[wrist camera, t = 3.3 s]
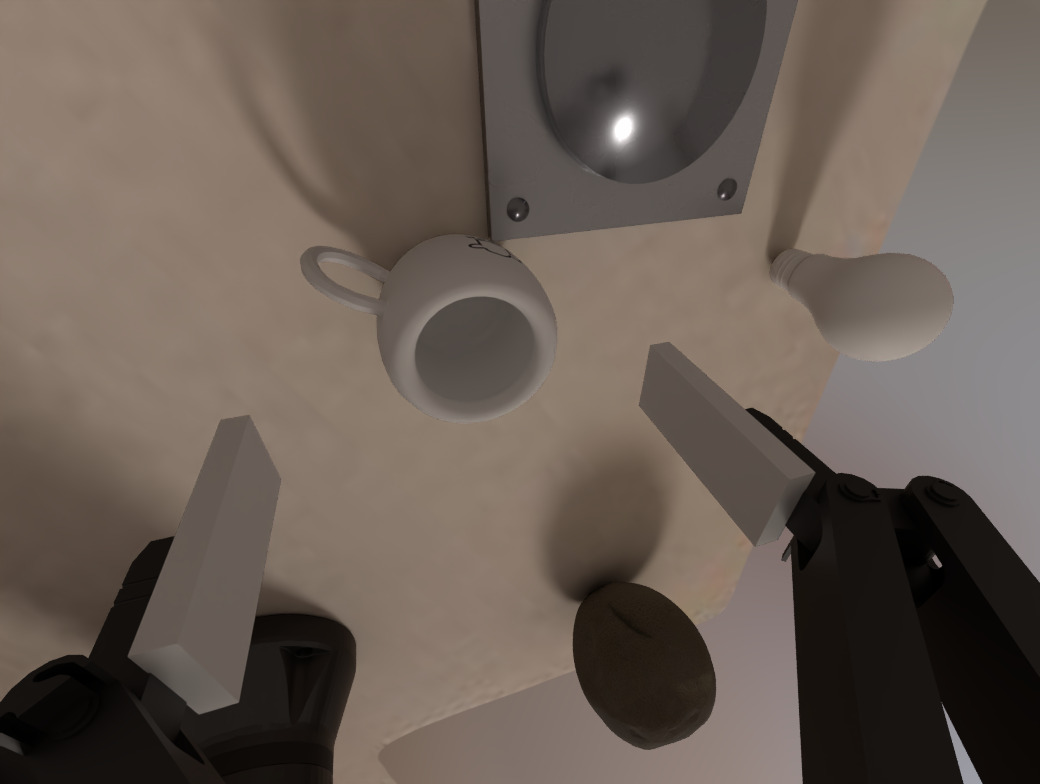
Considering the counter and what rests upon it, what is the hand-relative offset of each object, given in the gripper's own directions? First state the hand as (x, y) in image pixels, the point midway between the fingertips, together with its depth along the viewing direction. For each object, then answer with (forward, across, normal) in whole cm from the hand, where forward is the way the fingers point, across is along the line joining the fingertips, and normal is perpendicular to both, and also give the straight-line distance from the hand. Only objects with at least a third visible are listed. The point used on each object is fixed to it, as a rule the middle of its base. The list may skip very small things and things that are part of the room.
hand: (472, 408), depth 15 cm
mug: (+13, 0, 0) cm, 13 cm away
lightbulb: (+13, +25, -2) cm, 28 cm away
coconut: (+13, +16, -41) cm, 46 cm away
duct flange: (+13, +12, +10) cm, 20 cm away
